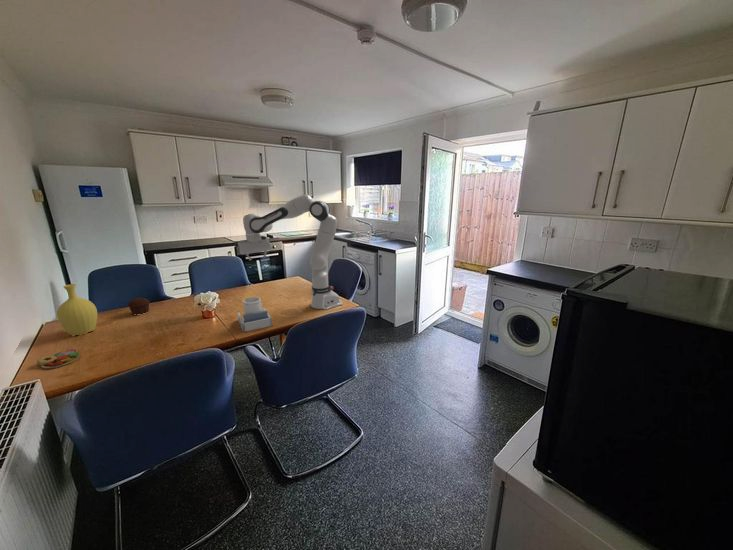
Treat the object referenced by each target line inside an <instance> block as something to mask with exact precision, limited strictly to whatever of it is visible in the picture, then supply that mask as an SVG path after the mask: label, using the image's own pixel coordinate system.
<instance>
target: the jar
mask: <svg viewBox="0 0 733 550" xmlns="http://www.w3.org/2000/svg"><path fill="white" fill-rule="evenodd" d="M261 301H262V298H261V297H259V296H252V297H247V298H244V299H243V300H242V304H243V313H244V314H243V315H245V314H250V313H256V312H260V311H263V306H262V302H261Z"/></svg>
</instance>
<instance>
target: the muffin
mask: <svg viewBox="0 0 733 550" xmlns="http://www.w3.org/2000/svg"><path fill="white" fill-rule="evenodd" d="M150 302H151V301H150V300H149V299H148V298H145V297H137V298H133V299H130V301H129V303H127V307H128V308H129V309H130V312H131V314H132V315H133V314H136V315H137V314H143V313H146V312H148V311H149V312H150ZM149 312H148V313H149ZM146 314H147V313H146ZM143 315H144V314H143Z"/></svg>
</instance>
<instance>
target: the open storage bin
mask: <svg viewBox="0 0 733 550" xmlns="http://www.w3.org/2000/svg"><path fill="white" fill-rule="evenodd" d="M266 310H267V309H266V307H262V311H266ZM267 315H268V318H266V319H261V320H256V321H251V322H246V323H244V318H243V317H242V315H241V313H240V312H237V321H238V323H239V326H240V328H241V330H242V332H243V333H245V332H246V331H247V332H250V331H254V330H258V329H259V330H261V329H264V328H269V327H272V326H273V318H272V316H271V315H270V313H269V312H268V311H267ZM247 332H246V333H247Z"/></svg>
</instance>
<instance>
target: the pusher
mask: <svg viewBox="0 0 733 550" xmlns="http://www.w3.org/2000/svg"><path fill="white" fill-rule="evenodd" d="M267 312H268V311H267V309H266V311H263V310H262V311H260V312H256V313H250V314H243V315H242V316H243V317H242V319H243V322H244V323H246V322H251V321H256V320H261V319H266V318H268V315H267Z"/></svg>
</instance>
